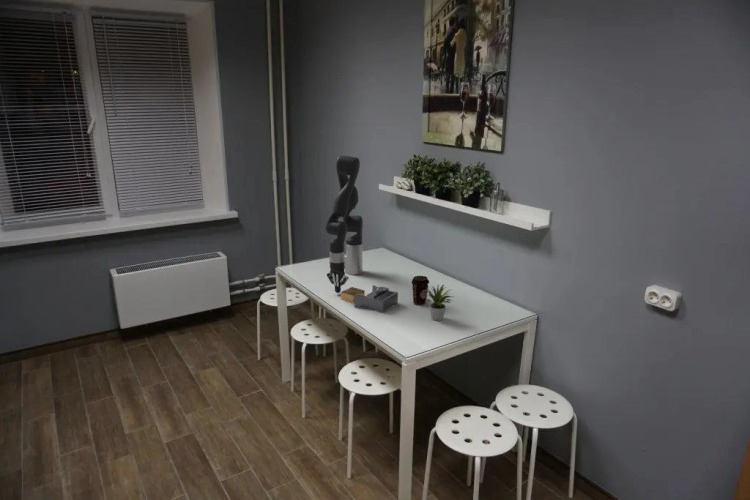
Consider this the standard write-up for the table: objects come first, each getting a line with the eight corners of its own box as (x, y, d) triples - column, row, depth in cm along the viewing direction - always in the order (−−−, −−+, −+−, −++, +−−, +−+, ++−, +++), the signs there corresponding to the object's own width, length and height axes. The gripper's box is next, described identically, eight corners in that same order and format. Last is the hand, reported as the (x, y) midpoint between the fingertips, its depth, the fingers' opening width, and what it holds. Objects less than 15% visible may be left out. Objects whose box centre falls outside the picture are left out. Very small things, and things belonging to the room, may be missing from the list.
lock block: (340, 299, 247) (340, 291, 246) (352, 294, 254) (352, 286, 253) (353, 303, 243) (353, 295, 242) (364, 297, 250) (364, 289, 249)
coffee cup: (430, 301, 245) (431, 276, 241) (426, 307, 237) (427, 281, 234) (413, 298, 248) (414, 274, 244) (409, 305, 240) (409, 279, 236)
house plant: (429, 328, 215) (430, 293, 211) (414, 316, 228) (415, 282, 223) (457, 322, 221) (459, 288, 216) (441, 311, 233) (442, 278, 228)
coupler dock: (353, 306, 238) (353, 289, 236) (373, 295, 252) (373, 279, 249) (380, 314, 230) (380, 296, 227) (399, 301, 244) (400, 285, 241)
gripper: (322, 259, 249) (323, 292, 254) (343, 264, 242) (343, 297, 247) (331, 256, 255) (332, 287, 260) (352, 260, 248) (352, 292, 253)
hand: (337, 292), depth 253 cm, fingers closed
